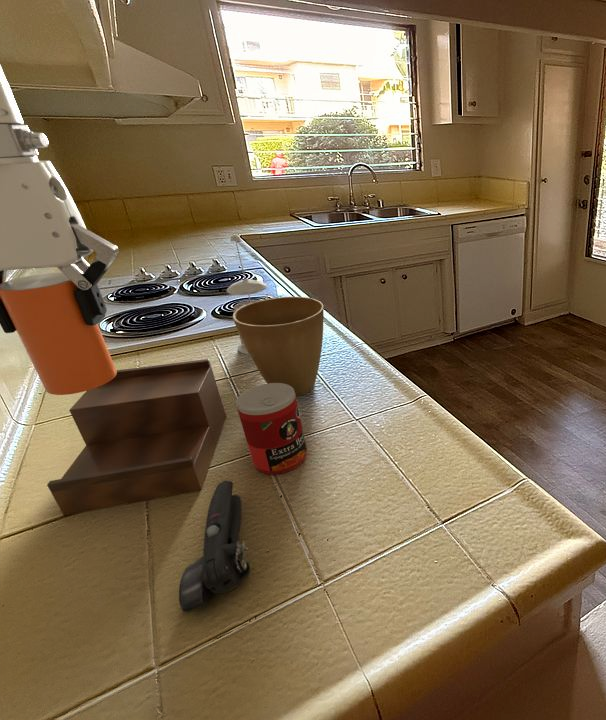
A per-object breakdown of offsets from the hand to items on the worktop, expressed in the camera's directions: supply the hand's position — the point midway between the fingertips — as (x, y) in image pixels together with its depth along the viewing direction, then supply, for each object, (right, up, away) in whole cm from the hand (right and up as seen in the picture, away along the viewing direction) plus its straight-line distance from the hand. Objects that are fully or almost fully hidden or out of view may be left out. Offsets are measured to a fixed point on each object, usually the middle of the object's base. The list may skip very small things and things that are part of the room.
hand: (57, 323), depth 51 cm
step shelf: (-2, -19, +19) cm, 27 cm away
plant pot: (+11, -10, +38) cm, 41 cm away
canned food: (+17, -19, +19) cm, 32 cm away
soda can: (0, -6, +3) cm, 7 cm away
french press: (-3, -1, +56) cm, 56 cm away
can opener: (+17, -27, +4) cm, 32 cm away
